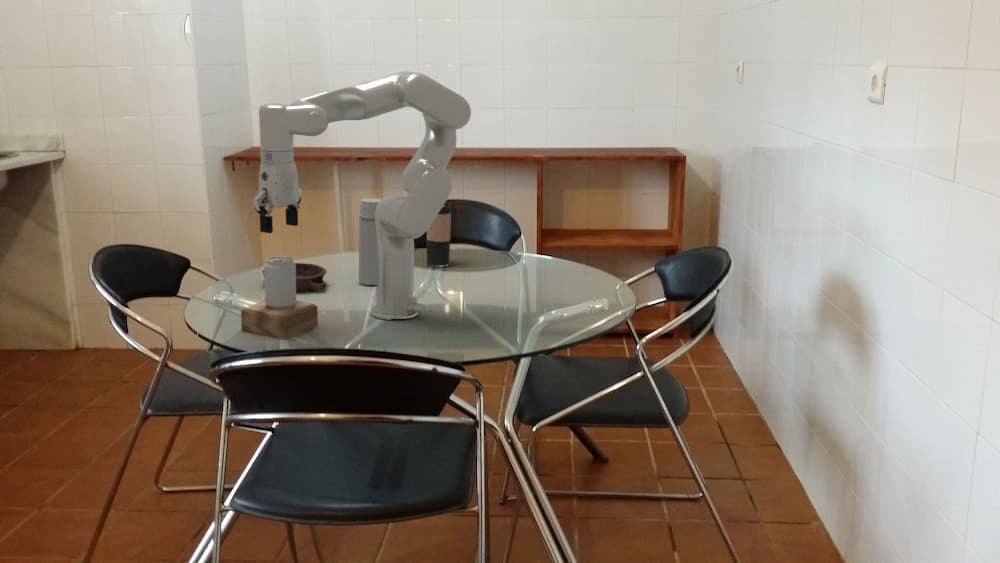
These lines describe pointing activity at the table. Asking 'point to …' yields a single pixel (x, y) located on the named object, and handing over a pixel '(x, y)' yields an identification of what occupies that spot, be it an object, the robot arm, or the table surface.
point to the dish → (309, 277)
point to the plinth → (279, 319)
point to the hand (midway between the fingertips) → (279, 228)
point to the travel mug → (439, 237)
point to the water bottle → (368, 242)
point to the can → (280, 282)
